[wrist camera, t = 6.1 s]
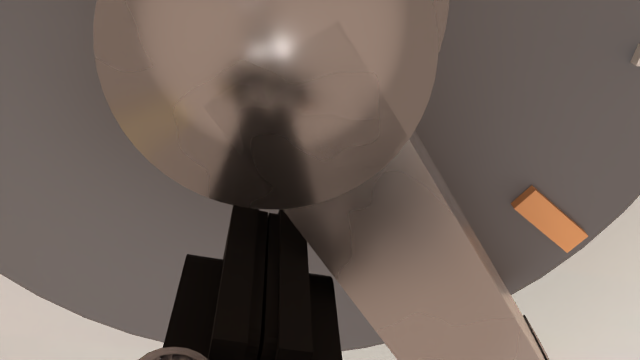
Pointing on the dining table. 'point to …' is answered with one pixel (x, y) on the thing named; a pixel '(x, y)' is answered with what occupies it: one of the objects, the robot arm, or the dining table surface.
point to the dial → (318, 148)
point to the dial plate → (214, 217)
